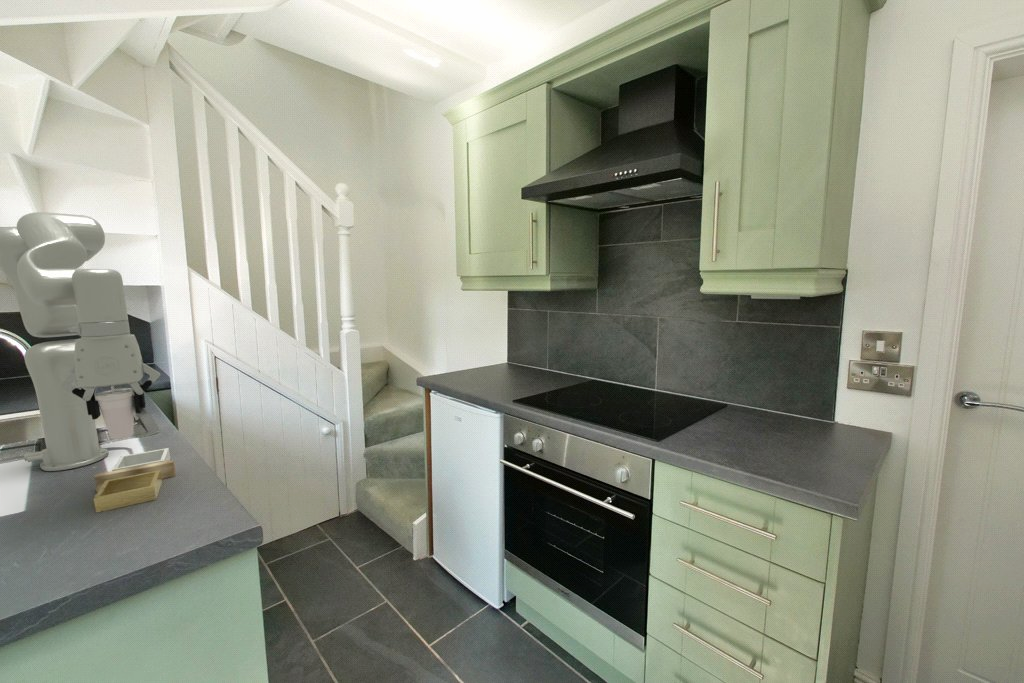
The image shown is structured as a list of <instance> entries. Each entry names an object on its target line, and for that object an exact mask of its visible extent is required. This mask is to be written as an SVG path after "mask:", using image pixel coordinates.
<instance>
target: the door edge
mask: <svg viewBox="0 0 1024 683" xmlns="http://www.w3.org/2000/svg"><path fill="white" fill-rule="evenodd" d="M158 470H160V471H161V478H162V480H163V479H168V478H169V479H170V478H173V477H176V474H177V473H176V463H175V459H170V460H169V461H163V462H158V463H153V464H147V465H142V466H137V467H131V468H126V469H120V470H115V471H112V470H110V471H105V472H101V473H96V474H95V475H94V476H93V479H94V480H93V481H94V485H95V491H96V493H98V491H99V490H100V488H101V486H102V485H103V483H104V482H105V481H106V480H111V479H117V478H122V477H127V476H132V475H137V474H142V473H148V472H153V471H158Z"/></svg>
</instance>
